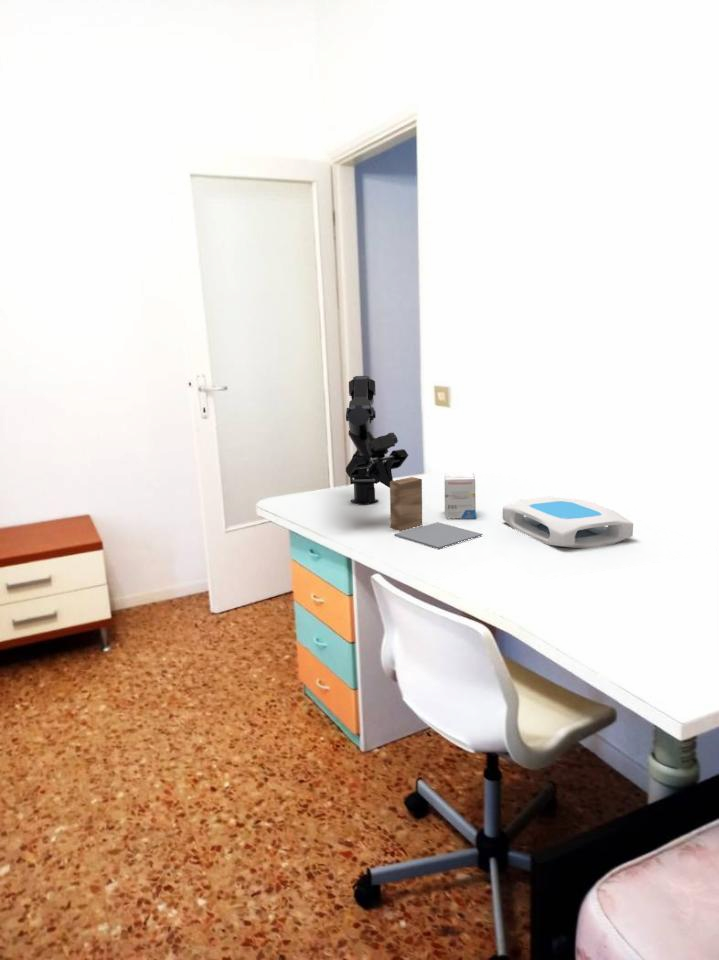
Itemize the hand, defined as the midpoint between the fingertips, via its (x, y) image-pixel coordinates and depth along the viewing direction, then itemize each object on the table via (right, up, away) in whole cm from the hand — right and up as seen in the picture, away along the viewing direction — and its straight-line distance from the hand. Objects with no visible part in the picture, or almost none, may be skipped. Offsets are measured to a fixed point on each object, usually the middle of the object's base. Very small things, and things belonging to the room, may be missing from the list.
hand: (392, 487), depth 186 cm
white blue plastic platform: (+44, -12, -6) cm, 46 cm away
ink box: (+20, -8, +12) cm, 25 cm away
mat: (+12, -13, -7) cm, 19 cm away
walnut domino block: (+4, -11, +2) cm, 12 cm away
